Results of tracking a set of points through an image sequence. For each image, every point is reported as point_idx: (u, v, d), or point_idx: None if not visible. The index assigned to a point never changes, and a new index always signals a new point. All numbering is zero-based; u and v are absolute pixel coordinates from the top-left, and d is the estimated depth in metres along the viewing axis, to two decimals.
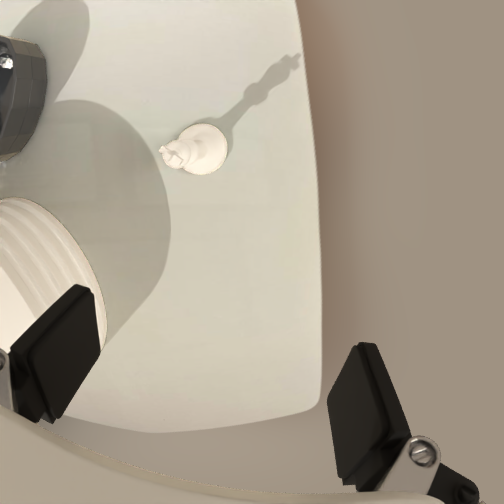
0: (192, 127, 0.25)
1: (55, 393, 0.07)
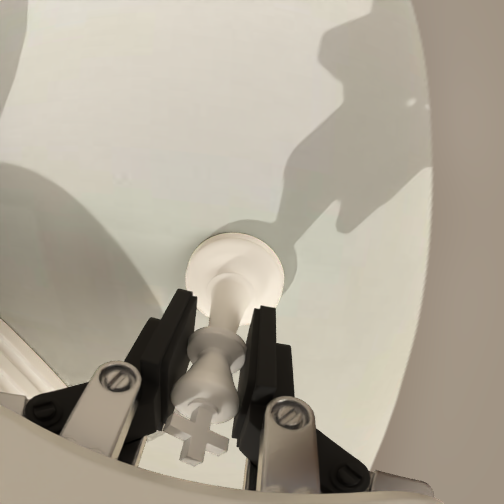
0: (218, 245, 0.14)
1: None
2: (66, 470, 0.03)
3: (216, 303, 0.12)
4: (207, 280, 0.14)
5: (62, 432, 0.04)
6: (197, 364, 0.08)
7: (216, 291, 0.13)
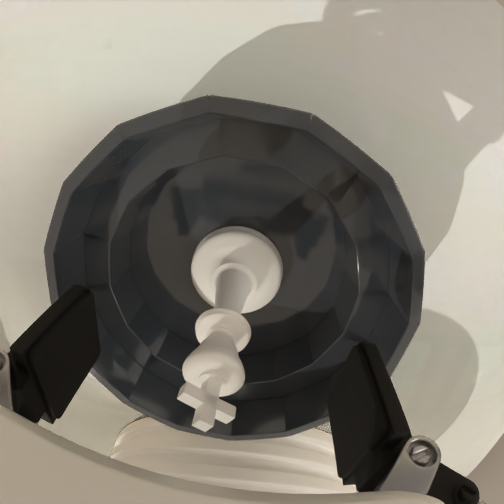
0: (221, 237, 0.15)
1: (55, 393, 0.07)
2: (66, 470, 0.03)
3: (221, 290, 0.13)
4: (211, 270, 0.15)
5: None
6: (206, 340, 0.09)
7: (221, 279, 0.14)
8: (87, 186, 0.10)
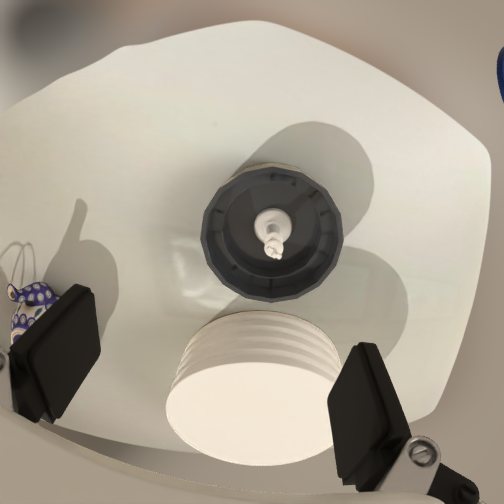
0: (268, 212, 0.37)
1: (55, 393, 0.07)
2: (66, 470, 0.03)
3: (270, 229, 0.36)
4: (264, 225, 0.38)
5: None
6: (270, 239, 0.32)
7: (269, 227, 0.36)
8: None
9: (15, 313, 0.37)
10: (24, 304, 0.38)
